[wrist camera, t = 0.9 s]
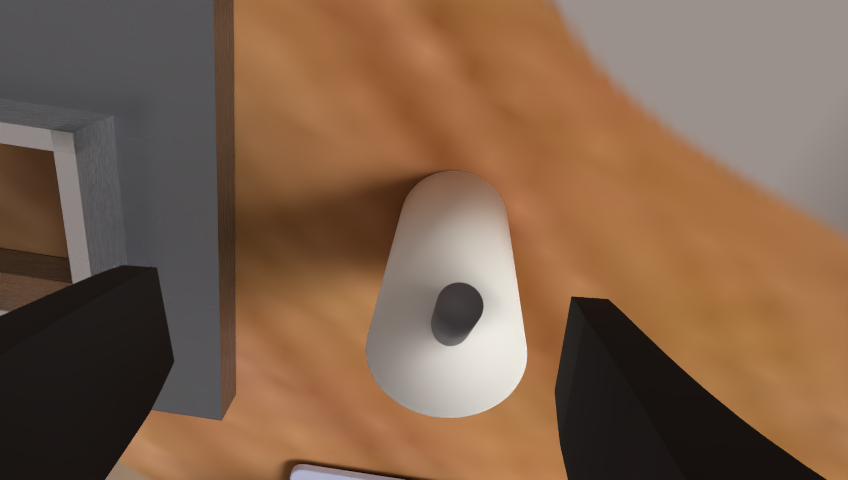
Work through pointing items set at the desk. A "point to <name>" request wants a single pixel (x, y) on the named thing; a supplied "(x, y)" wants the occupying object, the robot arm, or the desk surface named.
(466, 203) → the spout can
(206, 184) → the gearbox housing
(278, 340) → the desk surface
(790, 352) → the desk surface
